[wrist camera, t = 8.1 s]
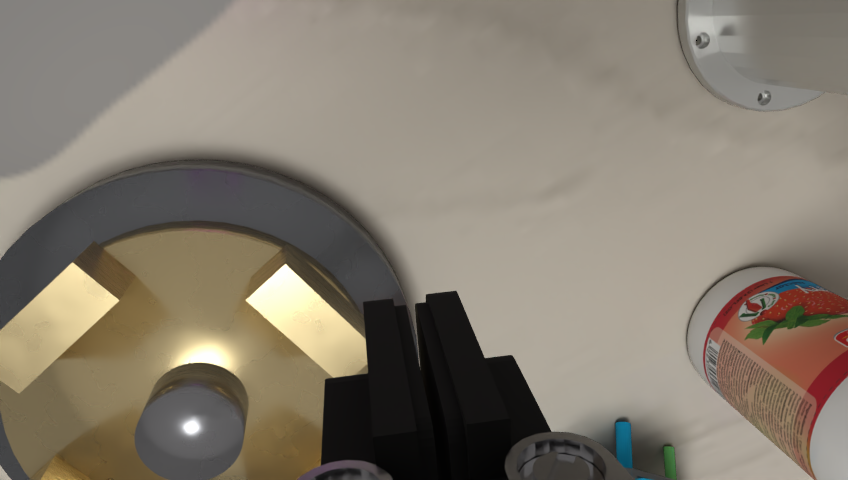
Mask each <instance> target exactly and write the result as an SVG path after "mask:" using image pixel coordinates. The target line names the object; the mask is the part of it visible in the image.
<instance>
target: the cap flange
mask: <svg viewBox="0 0 848 480" xmlns="http://www.w3.org/2000/svg"><path fill="white" fill-rule="evenodd" d="M196 220H201V221H214V222H225V223H230V224H235V225H240V226H245V227H250V228H253V229H256V230H259V231H262V232H265V233H268V234H271V235H273V236H276V237H278V238H280V239H282V240H284V241H286V242H288V243H290V244H292V245H294V246H296V247H298V248H299V249H301V250H302V251H304V252H305V253H307V254H309V255H310V256H312V257H313V258H315V259H316V260H317V261H318V262H319V263H321V264H322V265H323V266H324V267H325V268H326V269H328V270H329V271H330V272H331V273H332V274H333V275H334V276H335V277H336V278H337V279H338V281H339V282H340V283H341V284H342V285H343V286H344V287H345V288H346V290H347V291H348V292H349V294H350V295H351V297H352V298H353V300H354V301H355V303H356V304H357V306H358V308H359V310H360V312H361V314H362V315H363V316H364V310H363V302H366V301H374V300H383V299H391V298H393V301H394V306H400V305H406V307H407V312H408V316H409V321H410V325H411V330H412V334H413V339H414V343H415V348H416V352H417V357H418V350H417V340H416V334H415V330H414V326H413V322H412V318H411V314H410V311H409V308H408V305H407V303H406V300H405V297H404V294H403V292H402V289H401V287H400V284H399V282H398V279H397V277H396V275H395V272H394V270H393V268H392V267H391V265H390V263H389V262H388V260H387V258H386V257H385V255H384V253H383V251H382V250H381V248H380V247H379V246H378V245H377V243H376V242H375V241H374V240H373V238H372V237H371V236H370V235H369V233H368V232H367V231H366V230H365V229H364V228H363V227H362V226H361V225H360V224H359V223H358V222H357V221H356V220H355V219H354V218H353V217H352V216H351V215H350V214H349V213H348V212H347V211H345V210H344V209H343V208H341V207H340V206H339V205H337V204H336V203H334V202H333V201H332V200H330V199H329V198H328V197H326V196H325V195H323V194H321V193H319V192H318V191H316V190H314V189H312V188H310V187H309V186H307V185H305V184H303V183H301V182H299V181H297V180H294V179H292V178H289V177H287V176H284V175H282V174H279V173H277V172H274V171H271V170H267V169H263V168H259V167H255V166H252V165H248V164H242V163H235V162H227V161H220V160H179V161H171V162H162V163H155V164H151V165H147V166H143V167H139V168H135V169H131V170H127V171H124V172H122V173H119V174H116V175H114V176H111V177H109V178H106V179H104V180H101V181H99V182H97V183H95V184H93V185H92V186H90V187H88V188H86V189H84V190H83V191H81V192H79V193H77V194H75V195H74V196H72V197H71V198H69V199H68V200H67V201H65V202H64V203H62V204H61V205H60V206H58V207H57V208H55V209H54V210H53V211H51V212H50V213H49V214H47V215H46V216H45V217H43V218H42V219H41V220H40V221H38V222H37V223H36V224H34V225H33V226H32V227H30V228H29V229H28V230H27V231H26V232H25V233H24V234H23V235H22V236H21V237H20V238H19V239H18V240H17V241H16V242H15V243H14V244H13V245H12V246H11V247H10V248H9V249H8V250H7V252H6V253H5V254H4V256H3V257H2V259H1V260H0V329H1V328H2V327H3V326H5V325H6V324H7V323H8V322H9V321H10V320H11V319H12V318H13V317H14V316H15V315H16V314H17V313H18V312H19V311H20V310H21V309H23V308H24V307H25V306H26V305H27V304H28V303H29V302H30V301H31V300H32V299H33V298H34V297H35V296H36V295H37V294H38V293H39V292H41V291H42V290H43V289H44V288H45V287H46V286H47V285H48V284H49V283H50V282H51V281H52V280H53V279H54V278H55V277H56V276H57V275H58V274H59V273H60V272H61V271H62V270H63V269H65V268H66V267H67V266H68V265H69V264H70V263H71V262H72V261H73V260H74V259H75V258H77V257H78V256H79V255H80V254H81V253H82V252H83V251H84V250H85V249H86V248H87V247H88V246H89V245H90V244H91V243H92V242H93V241H95V242H96V243H97V244H100V243H102V242H104V241H107V240H109V239H111V238H113V237H116V236H118V235H120V234H123V233H125V232H128V231H132V230H135V229H139V228H142V227H145V226H149V225H155V224H161V223H167V222H173V221H196ZM418 361H419V360H418ZM0 465H1V466H2V468H3V469H4V471H5V472H6V473H7V475H8V476H9V477H10V478H11V479H12V480H28V479H30V478H29V477H28V476H27V474H26V473H25V472H24V470H23V469H22V467H21V465H20V463H19V462H18V460H17V458H16V457H15V455H14V453H13V451H12V448H11V446H10V443H9V441H8V438H7V436H6V433H5V430H4V425H3V421H2V416H1V412H0Z"/></svg>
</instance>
